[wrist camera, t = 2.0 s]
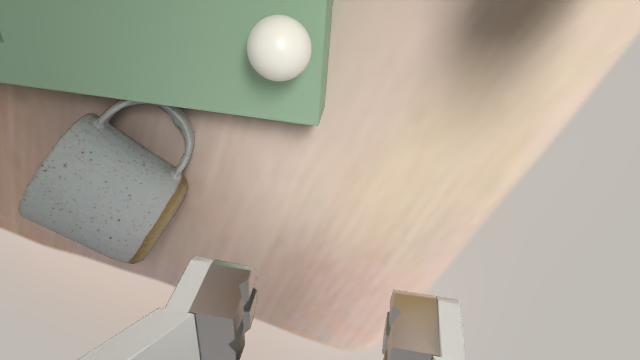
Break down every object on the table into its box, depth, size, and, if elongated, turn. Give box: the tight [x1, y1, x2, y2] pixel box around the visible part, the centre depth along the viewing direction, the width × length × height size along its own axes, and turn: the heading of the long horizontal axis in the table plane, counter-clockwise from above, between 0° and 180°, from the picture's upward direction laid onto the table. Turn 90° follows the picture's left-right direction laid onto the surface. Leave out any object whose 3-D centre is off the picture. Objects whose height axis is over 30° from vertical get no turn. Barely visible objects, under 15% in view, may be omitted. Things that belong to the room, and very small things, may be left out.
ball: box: [247, 15, 312, 81], centre depth 24 cm, size 3×3×3 cm
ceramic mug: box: [19, 100, 194, 264], centre depth 31 cm, size 11×8×8 cm
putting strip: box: [0, 0, 333, 126], centre depth 26 cm, size 10×26×5 cm, turn 87°
